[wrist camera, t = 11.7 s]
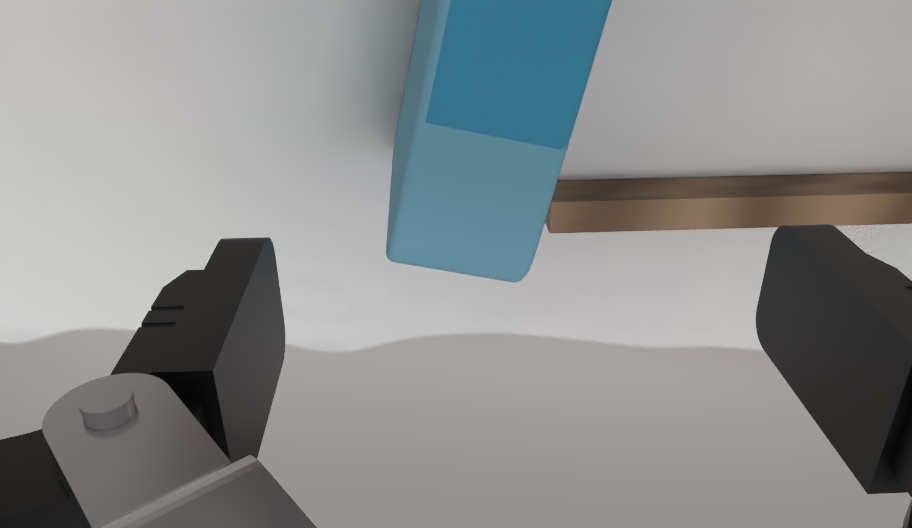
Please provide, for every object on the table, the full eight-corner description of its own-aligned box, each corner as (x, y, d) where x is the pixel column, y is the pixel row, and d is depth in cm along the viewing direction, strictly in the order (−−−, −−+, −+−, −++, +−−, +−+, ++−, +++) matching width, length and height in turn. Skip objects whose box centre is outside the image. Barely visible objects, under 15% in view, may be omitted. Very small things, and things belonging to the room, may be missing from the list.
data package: (489, 168, 34) (522, 302, 24) (392, 150, 34) (383, 279, 23) (561, -116, 29) (646, -106, 19) (448, -145, 28) (469, -151, 18)
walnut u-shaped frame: (1124, -214, 28) (1183, -221, 26) (979, 199, 36) (1016, 220, 34) (563, -212, 28) (575, -219, 25) (541, 210, 36) (549, 233, 33)
